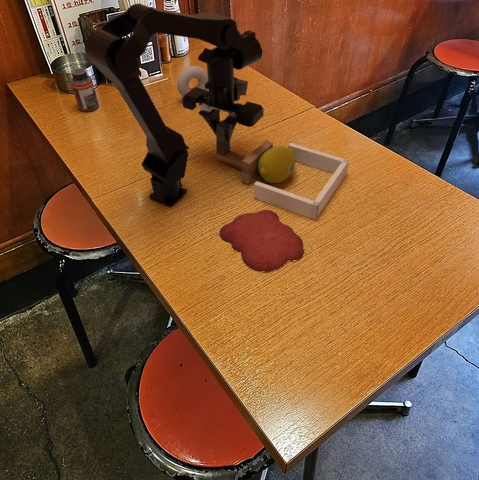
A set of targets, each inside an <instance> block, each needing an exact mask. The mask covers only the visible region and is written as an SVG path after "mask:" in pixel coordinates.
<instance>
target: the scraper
mask: <svg viewBox="0 0 479 480" xmlns="http://www.w3.org/2000/svg"><path fill="white" fill-rule="evenodd" d="M223 120H224V119H223ZM223 120H220V122H219V123H218V124H216V135H215V137H216V139H215V140H216V142H215V143H216V144H215V145H216V146H215V147H216V152H215V159H216V160H219V161H220V162H224V163H226V164H228V165H230V166H231V167H235V168H236V169H239V170H241V178H240V181H241V182H242V183H244V184H247V185H249V184H251V182H253V180H255V179H256V178H257V177H258V176H259V175H260V173H259V170H258V162H259V159H260V157H261V156H262V155H263V154H264V153H265V152H266V151H267V150H269V149H271V148H273V145H274V143H273V142H270V141H268V140H264V141H263V142H262V143H261V144H259V146H257V147H256V148H255V149H254V150H253V151H252V152H250V153H249V154H248V155H247V156H246V157H245V156H243V155H241V154H239V153H236V152H235V151H232V150H231V139H230V140H229V141H228V140H227V138H226V134H225V128H224V122H223Z"/></svg>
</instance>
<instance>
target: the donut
mask: <svg viewBox="0 0 479 480" xmlns="http://www.w3.org/2000/svg"><path fill="white" fill-rule="evenodd" d="M193 79H196V80H197V84H196V86H195V87H197V88H201V89H205V90H207V91H209V89H206V88H205V83H207V82H208V75H207V70H205V68H204V67H201V66H198V65H190V66H188V67H185V68H184V69H183V70H182V71H181V72H180V74H179V75H178V78H177V81H176V87H177V91H178V93H179V94H180V96H181V97H182V98H183V96H184V95H185V94H186V93H188V92H189V91H190V90H192V89H193V88H194V87H190V86H189V83H190V82H191V80H193Z"/></svg>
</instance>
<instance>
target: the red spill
mask: <svg viewBox="0 0 479 480" xmlns="http://www.w3.org/2000/svg"><path fill="white" fill-rule="evenodd" d="M218 234H219V237H220V239H221V240H222V241H224V242H226V243H228V242H229V243H230V244H231V247H232V249H233V250H234V251H235V250H236V252H238V253H240V252H241V253H240V254H241V258H242V259H241V260H242V262H243V263H244V264H245V266H246V267H248V266H249V267H250V268H249V267H248V268H249V269H251V268H252V269H251V270H253V269H254V270H253V271H255V270H257V271H256V272H258V271H273V270H276V269H278V268H280V267H281V268H283V267H284V266H285V265H286V264H287V263H288V262H287V261H289V260H290V261H293V260H297V259H300V258H301V257H302V256H303V254H304V255H305V250H304V242H303V239H302V238H301V236H300V235H298V234H297V233H296V232H295V231H294V229H293V228H292V227H291V226H289V225H288V224H284V223H282V222H281V221H280V217H279V215H278V213H277V212H275V211H273V210H270V209H262V210H259V211H257V212H247V213H242V214H240V215H238V216H235V218H234V219H233V220H231V222H227V223H226V224H224V225H222V227H221V228H220V229H219V233H218ZM303 257H304V256H303ZM303 257H302V258H303ZM302 258H301V259H302ZM301 259H300V260H301ZM286 262H287V263H286ZM285 263H286V264H285ZM284 264H285V265H284ZM283 265H284V266H283ZM282 266H283V267H282ZM281 268H280V269H281ZM278 270H279V269H278ZM276 271H277V270H276ZM273 272H274V271H273Z"/></svg>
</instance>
